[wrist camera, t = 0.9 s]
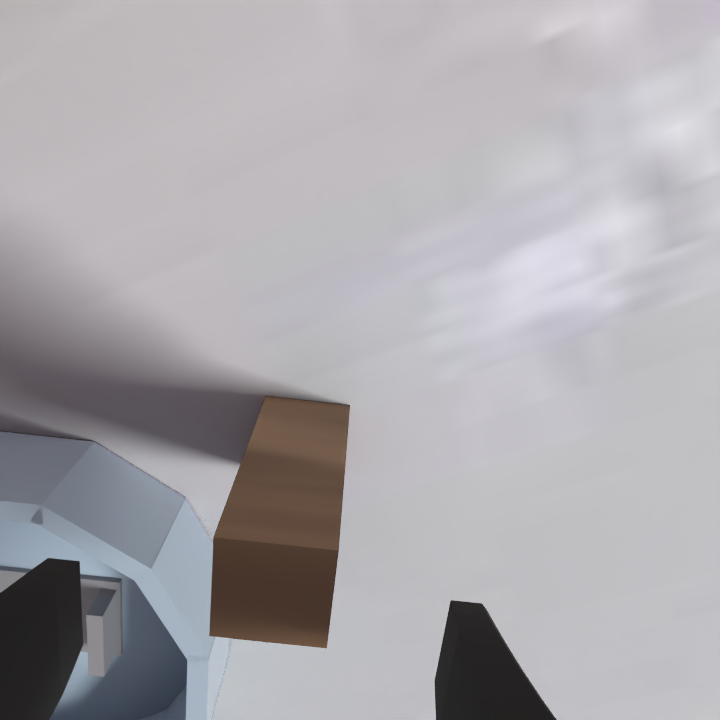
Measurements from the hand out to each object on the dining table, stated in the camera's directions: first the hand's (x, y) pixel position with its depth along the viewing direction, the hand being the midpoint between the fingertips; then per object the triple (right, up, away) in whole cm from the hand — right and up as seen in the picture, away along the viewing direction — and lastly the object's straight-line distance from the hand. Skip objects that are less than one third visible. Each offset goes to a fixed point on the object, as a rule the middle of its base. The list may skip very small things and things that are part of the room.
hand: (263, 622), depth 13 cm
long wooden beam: (0, +3, +7) cm, 8 cm away
